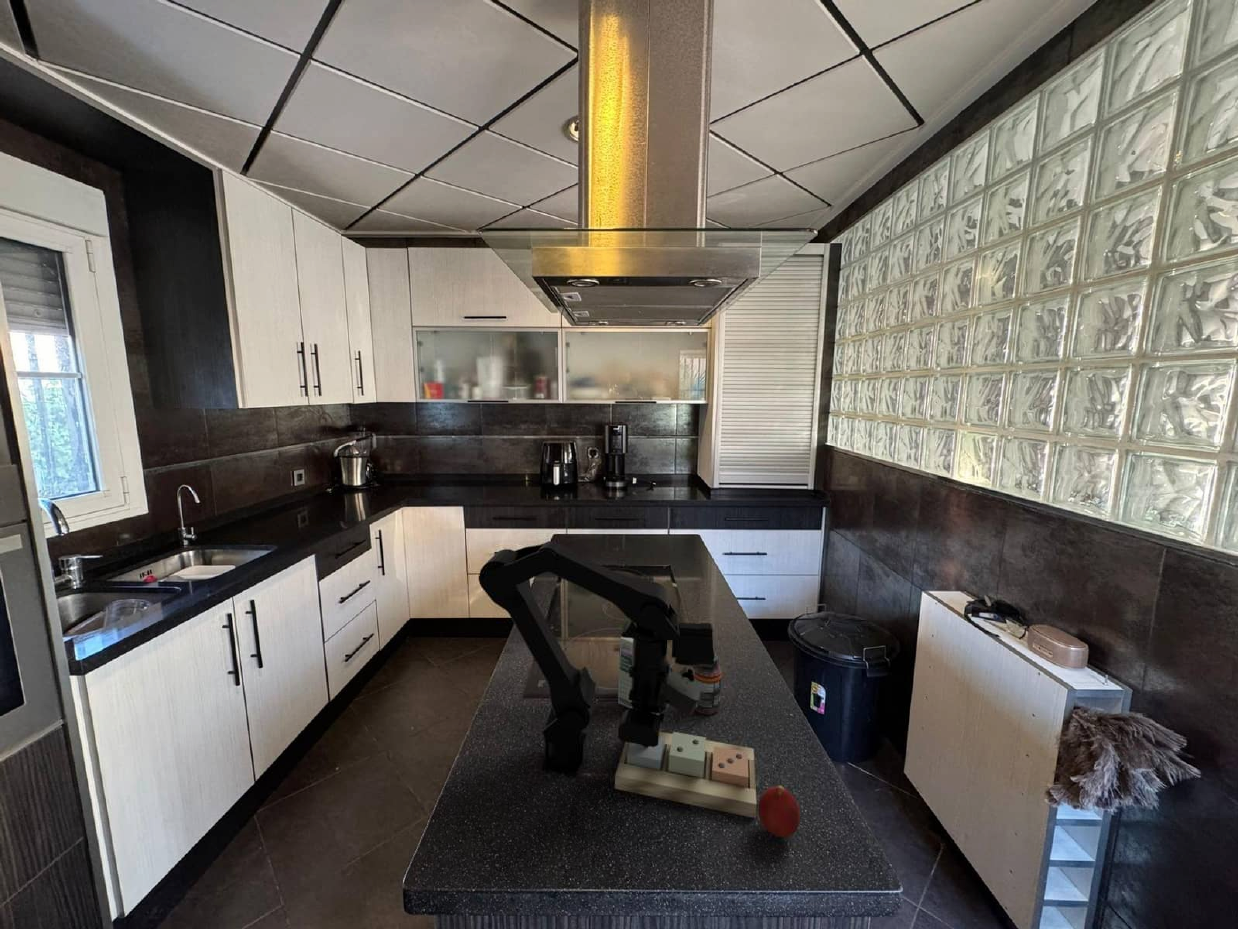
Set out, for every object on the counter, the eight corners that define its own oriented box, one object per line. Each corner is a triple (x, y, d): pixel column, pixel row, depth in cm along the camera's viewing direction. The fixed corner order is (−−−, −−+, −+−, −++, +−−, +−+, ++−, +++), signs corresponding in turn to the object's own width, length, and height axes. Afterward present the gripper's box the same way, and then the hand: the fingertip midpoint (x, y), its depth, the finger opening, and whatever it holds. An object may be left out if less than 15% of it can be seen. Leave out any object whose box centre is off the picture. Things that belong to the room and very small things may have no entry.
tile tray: (614, 788, 80) (615, 775, 79) (630, 738, 91) (630, 726, 91) (755, 818, 75) (756, 804, 74) (752, 761, 86) (753, 748, 86)
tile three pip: (711, 787, 79) (712, 769, 79) (712, 761, 85) (713, 745, 84) (747, 794, 78) (748, 776, 77) (746, 768, 83) (747, 751, 83)
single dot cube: (626, 770, 82) (627, 753, 82) (633, 746, 88) (633, 731, 87) (659, 776, 81) (660, 760, 81) (664, 752, 86) (665, 736, 86)
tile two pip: (668, 771, 81) (669, 754, 80) (672, 747, 86) (673, 731, 85) (702, 778, 79) (704, 760, 79) (705, 753, 85) (705, 737, 84)
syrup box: (616, 703, 101) (618, 637, 99) (632, 689, 106) (634, 626, 104) (640, 714, 98) (642, 646, 96) (655, 699, 103) (657, 634, 101)
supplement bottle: (695, 694, 105) (698, 645, 103) (723, 703, 102) (726, 652, 100) (686, 710, 99) (689, 658, 98) (715, 720, 97) (718, 666, 95)
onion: (766, 810, 76) (769, 764, 75) (803, 832, 73) (808, 784, 71) (750, 836, 72) (753, 787, 70) (789, 860, 68) (793, 809, 67)
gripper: (693, 702, 71) (688, 798, 73) (702, 639, 89) (697, 718, 91) (618, 690, 73) (616, 783, 76) (641, 631, 91) (638, 708, 94)
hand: (646, 745), depth 84 cm, fingers closed, pressing on single dot cube
